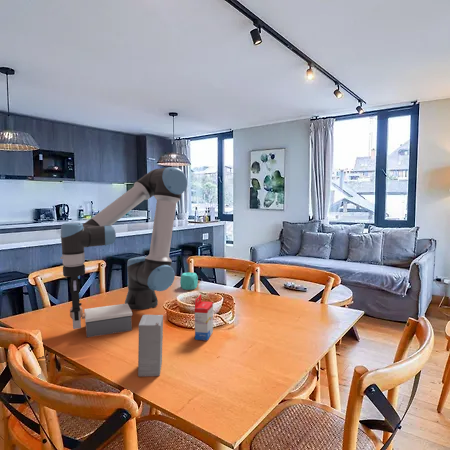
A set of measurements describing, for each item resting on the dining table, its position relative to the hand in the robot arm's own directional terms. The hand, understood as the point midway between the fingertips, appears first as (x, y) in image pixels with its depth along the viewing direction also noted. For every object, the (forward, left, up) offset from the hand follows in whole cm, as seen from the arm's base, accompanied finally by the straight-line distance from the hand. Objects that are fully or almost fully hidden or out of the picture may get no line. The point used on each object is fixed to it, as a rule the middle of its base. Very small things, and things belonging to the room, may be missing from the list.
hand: (77, 325), depth 130 cm
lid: (-9, 0, +3) cm, 9 cm away
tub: (-11, 0, -3) cm, 12 cm away
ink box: (-43, +21, -4) cm, 48 cm away
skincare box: (-20, +38, -4) cm, 43 cm away
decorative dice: (-58, -44, -4) cm, 73 cm away
